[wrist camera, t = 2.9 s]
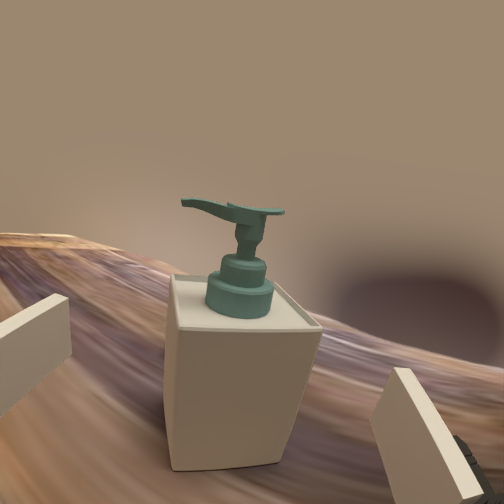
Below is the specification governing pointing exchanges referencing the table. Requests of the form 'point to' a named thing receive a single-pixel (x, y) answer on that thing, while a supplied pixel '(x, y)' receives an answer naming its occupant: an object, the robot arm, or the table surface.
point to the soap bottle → (234, 356)
